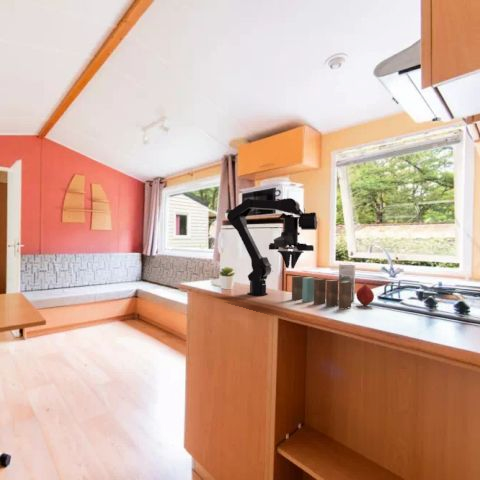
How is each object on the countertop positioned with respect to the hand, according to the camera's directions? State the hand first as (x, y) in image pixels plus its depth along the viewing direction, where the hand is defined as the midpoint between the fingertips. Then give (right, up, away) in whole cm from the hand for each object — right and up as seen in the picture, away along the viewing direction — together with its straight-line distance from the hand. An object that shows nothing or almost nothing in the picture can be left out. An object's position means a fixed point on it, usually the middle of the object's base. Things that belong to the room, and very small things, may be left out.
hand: (289, 268), depth 122 cm
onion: (+25, -13, -13) cm, 31 cm away
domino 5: (+16, -12, -18) cm, 27 cm away
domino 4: (+13, -12, -14) cm, 22 cm away
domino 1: (+2, -12, -3) cm, 13 cm away
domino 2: (+6, -12, -7) cm, 15 cm away
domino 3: (+9, -12, -10) cm, 18 cm away
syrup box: (+22, -13, -2) cm, 26 cm away
